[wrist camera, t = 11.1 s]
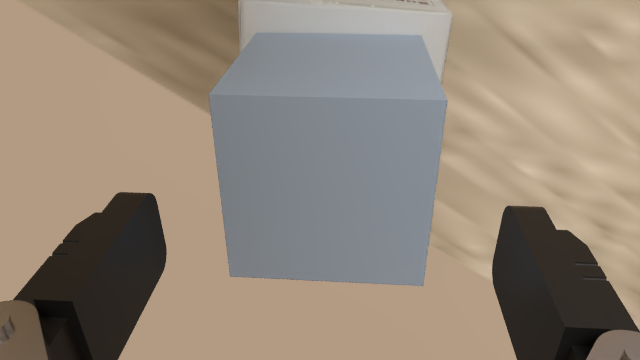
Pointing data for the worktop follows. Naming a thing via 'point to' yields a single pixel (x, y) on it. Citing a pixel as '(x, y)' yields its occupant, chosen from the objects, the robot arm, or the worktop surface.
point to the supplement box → (351, 20)
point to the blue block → (329, 157)
